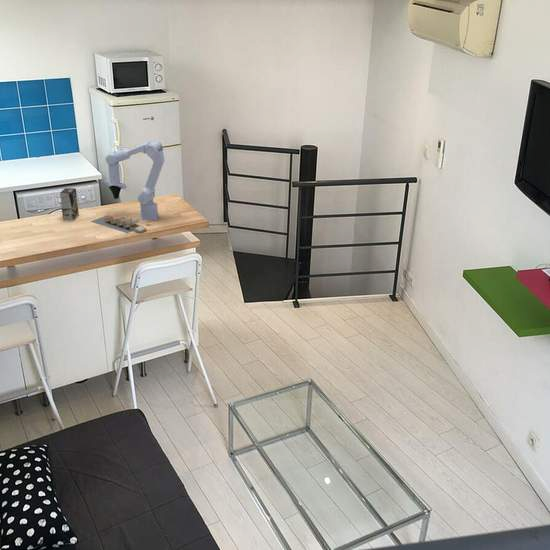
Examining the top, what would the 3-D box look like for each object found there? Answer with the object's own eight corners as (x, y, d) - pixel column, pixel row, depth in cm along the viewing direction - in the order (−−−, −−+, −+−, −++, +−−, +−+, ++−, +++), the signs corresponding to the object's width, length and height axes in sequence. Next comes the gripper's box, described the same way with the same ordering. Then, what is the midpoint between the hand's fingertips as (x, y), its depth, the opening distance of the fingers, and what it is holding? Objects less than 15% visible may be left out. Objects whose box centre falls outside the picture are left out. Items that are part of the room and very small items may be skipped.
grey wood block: (109, 220, 338) (118, 218, 333) (116, 218, 341) (124, 215, 336) (111, 224, 338) (120, 221, 333) (117, 222, 341) (126, 219, 336)
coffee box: (74, 221, 342) (71, 193, 334) (62, 221, 342) (59, 193, 335) (79, 215, 350) (76, 188, 343) (68, 215, 350) (64, 187, 343)
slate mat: (90, 222, 341) (90, 221, 341) (106, 215, 350) (106, 215, 350) (127, 233, 328) (127, 233, 328) (143, 227, 337) (143, 226, 337)
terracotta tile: (103, 218, 340) (112, 216, 335) (110, 216, 343) (118, 213, 338) (105, 222, 340) (113, 219, 335) (111, 220, 344) (119, 217, 339)
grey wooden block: (116, 222, 335) (125, 219, 330) (122, 220, 339) (131, 217, 334) (117, 226, 336) (126, 223, 331) (123, 223, 339) (132, 221, 334)
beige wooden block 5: (129, 226, 331) (140, 230, 327) (135, 223, 334) (146, 228, 330) (129, 229, 331) (140, 234, 328) (135, 227, 335) (146, 231, 331)
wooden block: (123, 225, 333) (131, 221, 328) (129, 222, 336) (137, 218, 331) (124, 228, 333) (133, 224, 328) (130, 226, 337) (139, 222, 331)
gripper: (99, 174, 342) (102, 197, 348) (118, 179, 335) (120, 203, 341) (109, 171, 348) (111, 194, 354) (128, 176, 341) (129, 199, 347)
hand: (116, 198), depth 348 cm, fingers closed
